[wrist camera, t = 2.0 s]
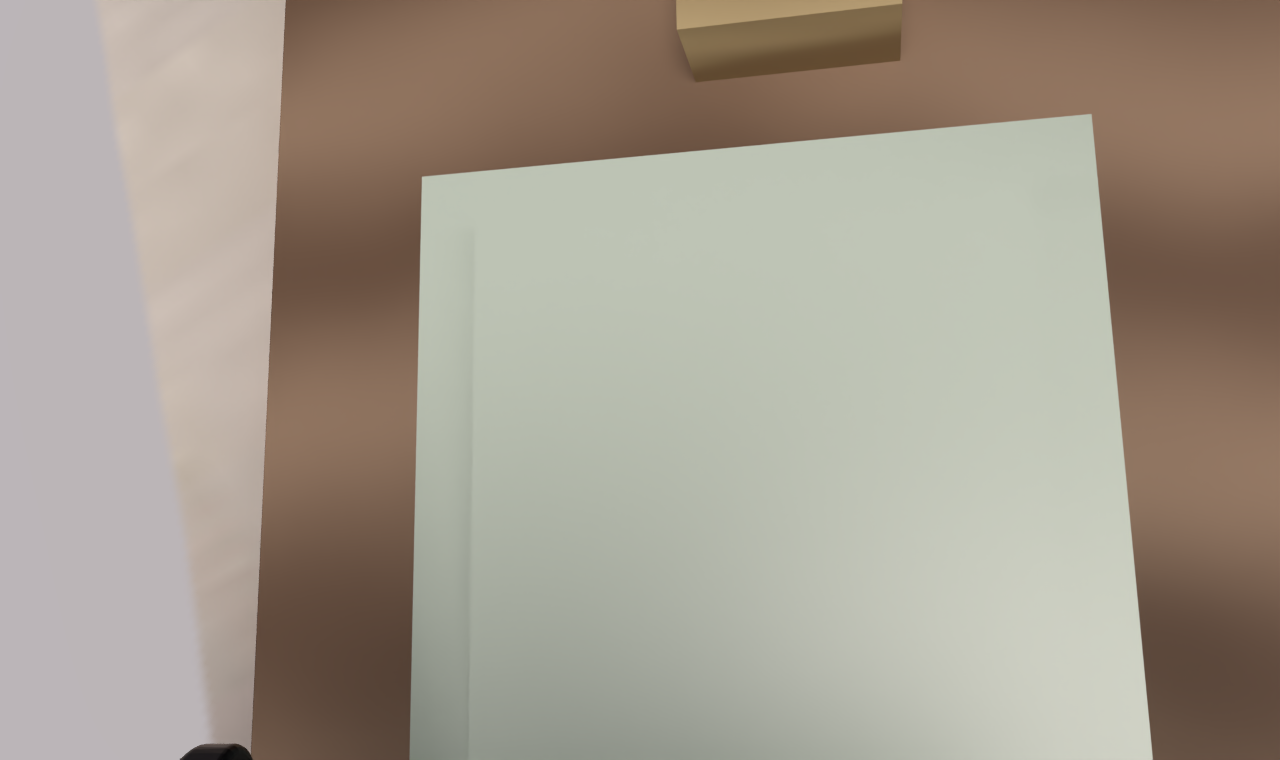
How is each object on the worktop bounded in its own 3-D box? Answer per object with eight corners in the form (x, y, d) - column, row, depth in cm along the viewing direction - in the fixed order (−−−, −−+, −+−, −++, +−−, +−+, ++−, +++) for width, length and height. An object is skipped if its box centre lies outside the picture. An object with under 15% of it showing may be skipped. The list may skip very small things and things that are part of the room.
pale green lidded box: (1007, 716, 17) (1163, 870, 8) (652, 714, 19) (407, 846, 9) (981, 361, 19) (1091, 113, 9) (646, 378, 20) (420, 176, 10)
